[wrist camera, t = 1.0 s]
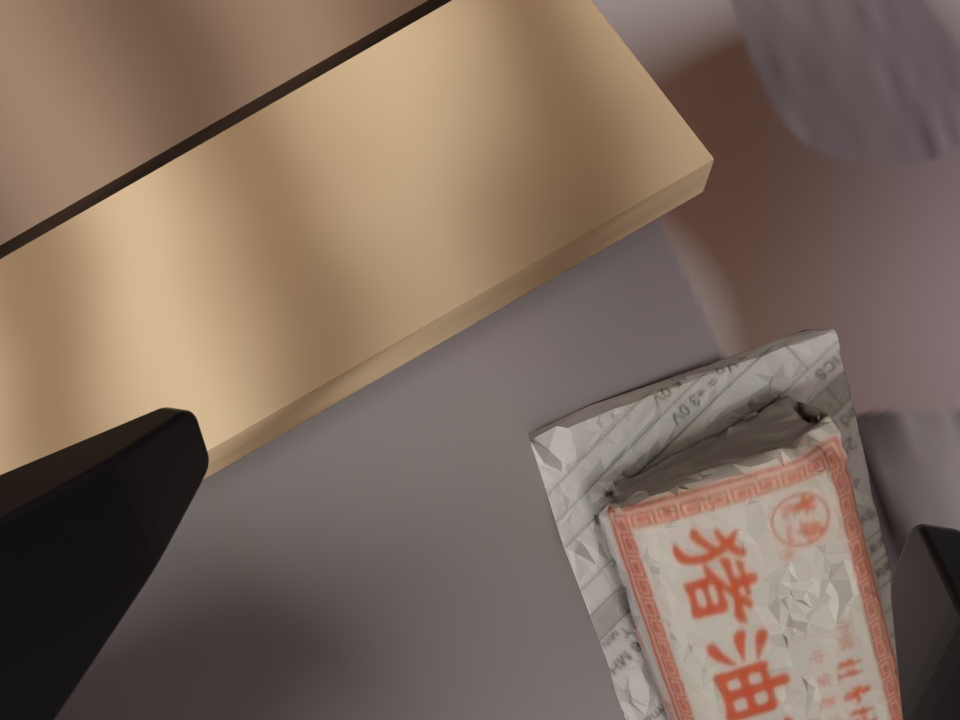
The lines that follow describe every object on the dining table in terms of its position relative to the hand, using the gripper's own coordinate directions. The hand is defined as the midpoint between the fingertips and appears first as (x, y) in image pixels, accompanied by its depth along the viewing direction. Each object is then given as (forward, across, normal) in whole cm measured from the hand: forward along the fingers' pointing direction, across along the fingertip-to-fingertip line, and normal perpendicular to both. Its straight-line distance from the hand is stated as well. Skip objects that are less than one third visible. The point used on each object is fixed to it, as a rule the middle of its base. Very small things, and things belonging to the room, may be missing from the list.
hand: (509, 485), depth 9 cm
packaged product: (+12, -5, +15) cm, 19 cm away
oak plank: (+8, +8, +2) cm, 11 cm away
